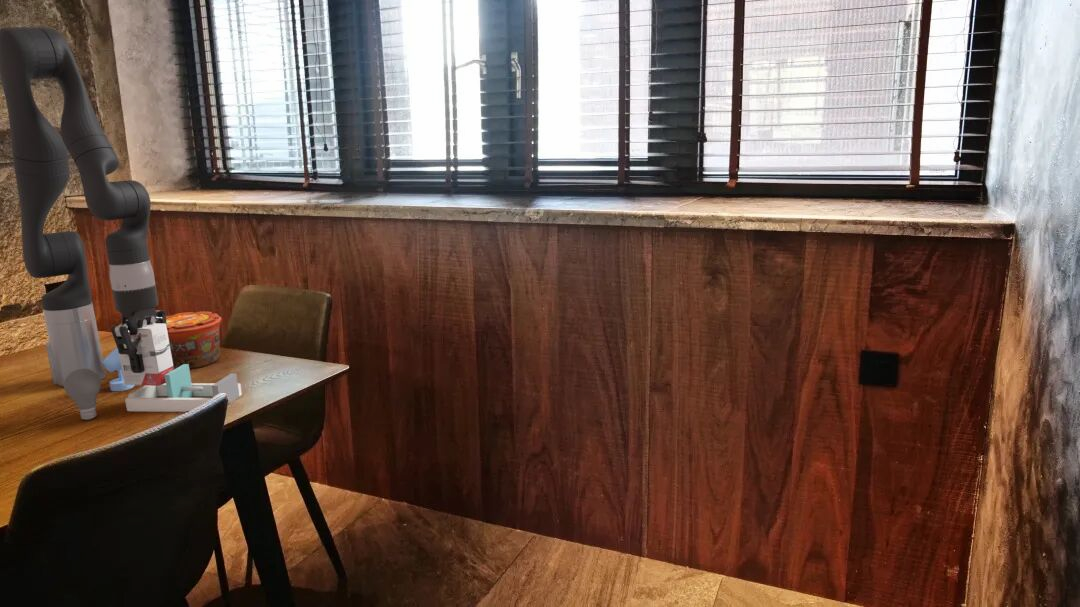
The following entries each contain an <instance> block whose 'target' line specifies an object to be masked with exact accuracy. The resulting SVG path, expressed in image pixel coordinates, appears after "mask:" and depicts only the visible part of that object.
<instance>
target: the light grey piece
mask: <svg viewBox="0 0 1080 607" xmlns="http://www.w3.org/2000/svg"><path fill="white" fill-rule="evenodd" d="M237 376H238V375H237V373H231V372H230V373H229V374H228V375H226V376H225V377H223V378H221V379H220V380H218V381H217V382H215V383H214V382H212V383H210V382H209V383H206V382H205V383H204V382H203V383H200V382H197V383H196V382H195V383H193V382H191V383H192V387H203V391H193V396H192V397H190V398H168V393H167V387H166V383H164V384H163V385H161V386H151V385H142V386H141V387H140V388H138V389H137V390H135V391H133V392H131V393H129V394H128V395H127V397H126V398H125V399H124V401H125V406H126V411H127V412H171V413H172V412H173V413H174V412H175V413H176V412H182V413H183V412H186V411H189V410H191V409H193V408H195V407H197V406H199V405H201V404H202V403H204V402H205V401H207V400H209V399H210V398H211V397H212V398H213V397H214V396H215V395H217V394H219V393H226V394H227V395H228V397H229V401H230V404H231V403H233V402H234V401H235V400H237V399H238V398H239V397H241V396H242V394H243V393H242V384H241V383H239V382H238V377H237Z"/></svg>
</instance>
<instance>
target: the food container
mask: <svg viewBox="0 0 1080 607" xmlns="http://www.w3.org/2000/svg"><path fill="white" fill-rule="evenodd" d="M222 321H223V319H222V317H221V316H220V315H219V314H218V313H215V312H214V313H213V312H212V311H201V310H200V311H197V312H193V311H188V312H186V311H185V312H180V313H175V314H173V315H166V327H167V332H168V338H169V344H170V350H171V355H172V361H173V366H174V369H176V368H178V367H180V366H182V365H183V364H189V370H194V369H199V368H200V369H201V368H203V367H207V366H211V365H213V364H215V363H216V362H218V361H219V360H220V358H221V356H220V355H221V349H220V347H221V343H220V338H221V337H220V336H221V335H220V330H221V329H220V325H221V323H222Z"/></svg>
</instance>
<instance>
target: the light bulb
mask: <svg viewBox="0 0 1080 607" xmlns="http://www.w3.org/2000/svg"><path fill="white" fill-rule="evenodd" d="M101 385H102V380H100V377H99V376H98V375H97V374H96V373H95V372H94V371H92V370H89V369H78V370H75V371H73V372H71V373H70V374H69V375H68V376H67V378H66V379H65V382H64V387H63V389H64V391H65V394H67V396H69V397H70V399H72V400H73V402H74V403H75V404H76V405H75V406H76V407H77V408H78V410H79V414H80V419H82V420H86V421H89V420H92V419H94V418H95V417H96V416H97V411H96V410H97V409H96V405H97V396H98V394H99V392H100V389H101Z"/></svg>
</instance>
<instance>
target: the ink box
mask: <svg viewBox="0 0 1080 607" xmlns="http://www.w3.org/2000/svg"><path fill="white" fill-rule="evenodd" d="M139 333H141V336H142V343H141V348H142V349H141V354H142V357H143V363H144V369H145V371H144V372H142V373H133V372H132V370H131V366H130V360H129V356H128V355H125V354H120V353H119V351H118V353H119V358H120V363H121V369H122V375H123V379H124V384H125V385H134V386H145V385H151V386H161V385H163V384H164V383H166V381H165V374H167V373H169V372H171V371H173V370H174V366H173V361H172V355H171V350H170V344H169V338H168V332H167V327H166V323H155V324H149V325H147V327H144V328H138V333H137V335H130V334H129V335H130V338H131V339H136V338H138V334H139ZM132 344H133V347H134V348H135V346H136V343H132ZM123 345H124V348H126V345H125V344H123Z"/></svg>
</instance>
